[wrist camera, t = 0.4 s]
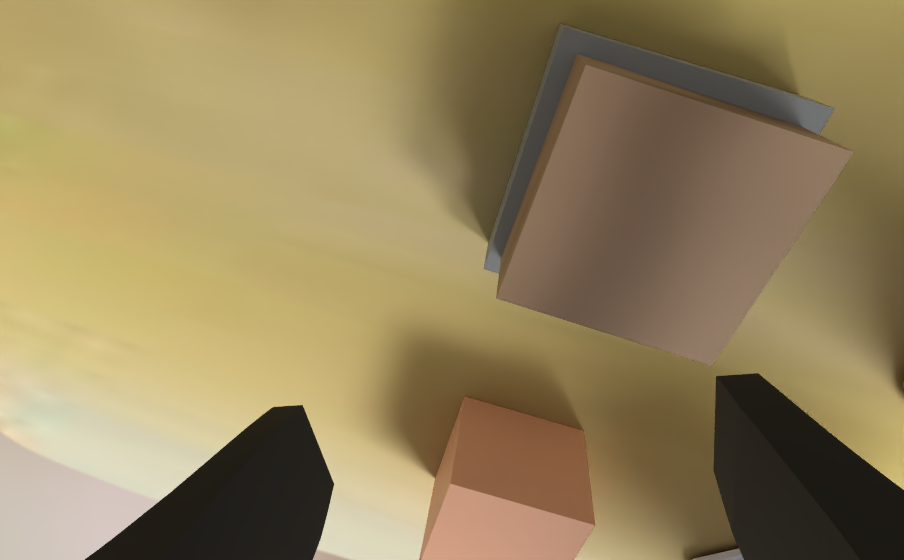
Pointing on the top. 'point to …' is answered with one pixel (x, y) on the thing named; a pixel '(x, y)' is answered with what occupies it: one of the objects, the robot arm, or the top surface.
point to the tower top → (660, 210)
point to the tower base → (646, 64)
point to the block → (509, 489)
